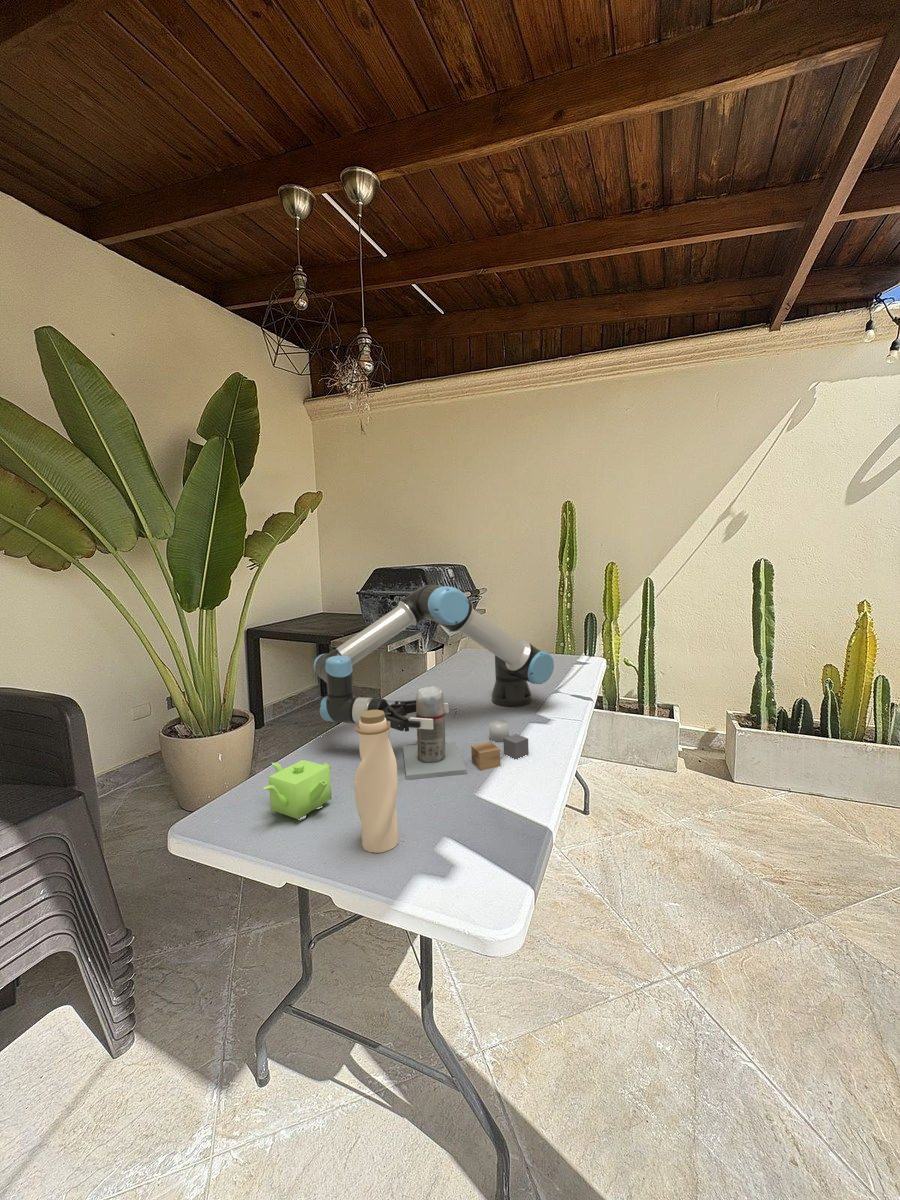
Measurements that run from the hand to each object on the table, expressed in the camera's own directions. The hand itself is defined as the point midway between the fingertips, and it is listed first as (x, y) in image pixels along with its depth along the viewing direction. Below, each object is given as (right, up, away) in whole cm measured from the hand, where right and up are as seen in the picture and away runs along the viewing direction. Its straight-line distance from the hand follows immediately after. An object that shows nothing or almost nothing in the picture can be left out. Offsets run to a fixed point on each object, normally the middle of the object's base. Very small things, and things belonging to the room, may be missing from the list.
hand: (440, 715), depth 148 cm
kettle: (-33, -18, -21) cm, 43 cm away
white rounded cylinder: (+18, -11, +17) cm, 27 cm away
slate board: (-2, -14, +3) cm, 14 cm away
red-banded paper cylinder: (-2, -13, +2) cm, 13 cm away
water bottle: (-12, -19, -36) cm, 42 cm away
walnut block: (+13, -13, -1) cm, 18 cm away
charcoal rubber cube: (+22, -12, +5) cm, 25 cm away
